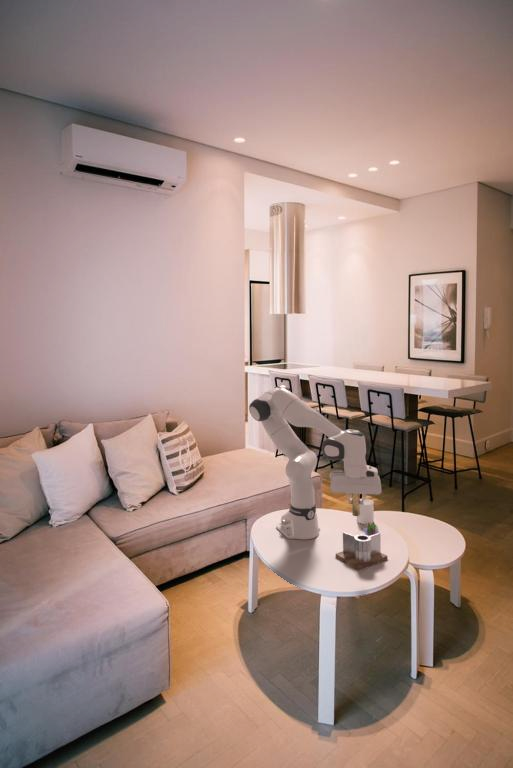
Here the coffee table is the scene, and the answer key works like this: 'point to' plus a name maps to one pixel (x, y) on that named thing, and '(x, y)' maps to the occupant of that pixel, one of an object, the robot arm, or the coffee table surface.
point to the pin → (356, 504)
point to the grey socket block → (361, 546)
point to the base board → (358, 565)
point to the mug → (366, 512)
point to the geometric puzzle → (370, 529)
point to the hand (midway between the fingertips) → (356, 503)
